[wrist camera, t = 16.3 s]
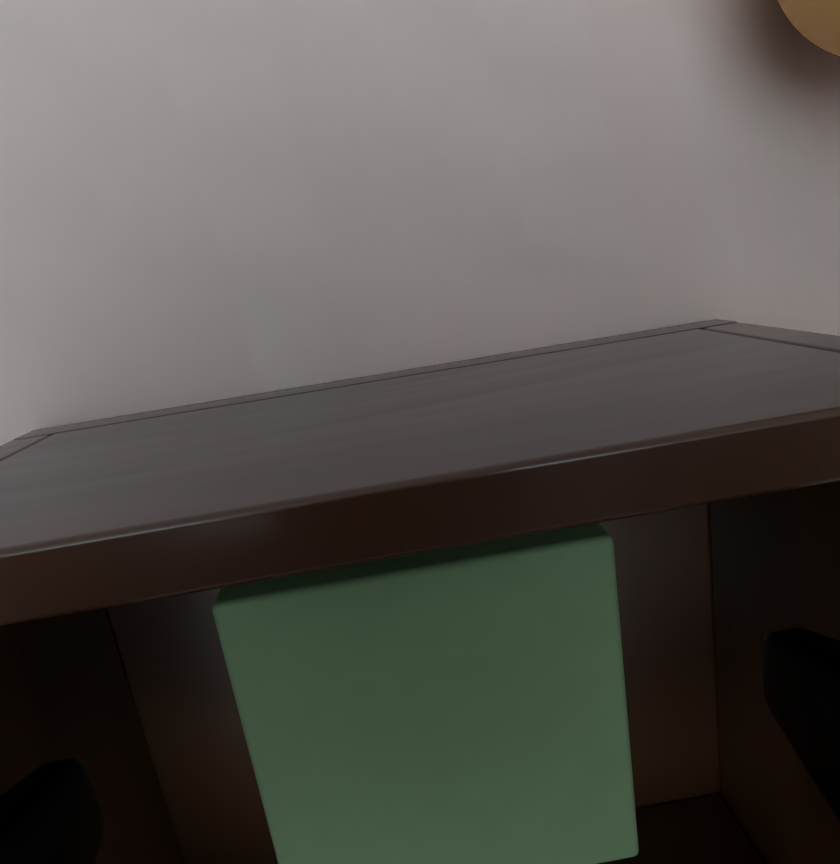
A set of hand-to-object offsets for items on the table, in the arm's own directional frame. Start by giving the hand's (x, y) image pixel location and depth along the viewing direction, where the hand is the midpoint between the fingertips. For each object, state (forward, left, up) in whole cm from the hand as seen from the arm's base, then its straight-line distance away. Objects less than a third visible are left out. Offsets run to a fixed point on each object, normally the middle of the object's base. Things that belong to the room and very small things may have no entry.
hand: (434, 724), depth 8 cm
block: (0, 0, -4) cm, 4 cm away
